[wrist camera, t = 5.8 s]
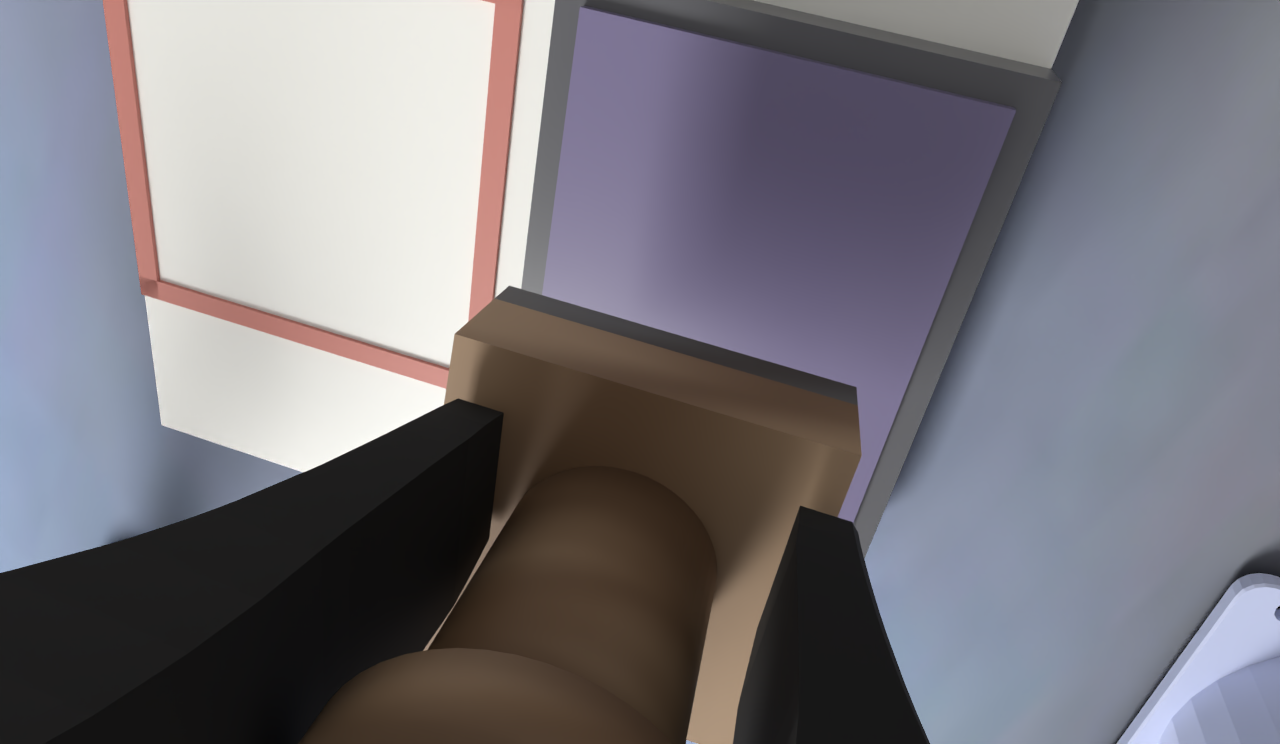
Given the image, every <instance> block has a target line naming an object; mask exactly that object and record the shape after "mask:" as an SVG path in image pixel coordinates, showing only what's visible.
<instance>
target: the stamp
mask: <svg viewBox="0 0 1280 744" xmlns="http://www.w3.org/2000/svg"><path fill="white" fill-rule="evenodd" d="M458 398H459V399H462V400H465V401H468V402H471V403H475V404H478V405H481V406H484V407H487V408H491V409H494V410H497V411H500V412H503V413H504V416H503V425H502V433H501V442H500V451H499V459H498V468H497V476H496V485H495V494H494V502H493V511H492V519H491V528H490V537H489V540H488V542H487V544H486V546H485V548H484V550H483V552H482V554H481V556H480V558H479V560H478V562H477V564H476V566H475V567H474V569H473V571H472V573H471V575H470V577H469V579H468V581H467V583H466V584H465V586H464V588H463V590H462V592H461V594H460V595H459V597H458V599H457V601H456V603H455V605H454V606H453V608H452V609H451V611H450V612H449V614H448V615H447V617H446V618H445V620H444V621H443V623H442V624H441V625H440V627H439V628H438V630H437V631H436V633H435V634H434V635H433V637H432V638H431V640H430V641H429V643H428V644H427V646H426V647H425V648H424V650H423V651H420V652H414V653H409V654H404V655H401V656H398V657H395V658H392V659H389V660H386V661H383V662H380V663H378V664H376V665H374V666H372V667H370V668H368V669H367V670H365V671H363V672H361V673H359V674H358V675H357V676H355V677H354V678H353V679H351V680H350V681H348V682H347V683H346V684H344V685H343V686H342V687H341V688H340V689H339V690H338V691H337V693H336V694H335V695H334V696H333V697H332V698H331V699H330V700H329V701H328V703H327V704H326V706H325V707H324V708H323V710H322V711H321V713H320V714H319V715H318V717H317V718H316V720H315V721H314V722H313V724H312V725H311V727H310V728H309V729H308V731H307V732H306V734H305V735H304V736H303V738H302V739H301V740H300V742H299V743H298V744H686V740H689V741H692V742H695V743H698V744H733V739H734V731H735V724H736V717H737V709H738V704H739V700H740V696H741V692H742V688H743V683H744V679H745V675H746V671H747V667H748V663H749V659H750V655H751V651H752V647H753V643H754V639H755V635H756V631H757V627H758V624H759V622H760V619H761V616H762V613H763V610H764V607H765V604H766V602H767V599H768V596H769V593H770V590H771V587H772V584H773V581H774V579H775V576H776V573H777V570H778V567H779V564H780V561H781V559H782V556H783V553H784V550H785V547H786V544H787V541H788V539H789V536H790V533H791V530H792V527H793V524H794V521H795V519H796V516H797V513H798V510H799V507H800V506H803V507H806V508H810V509H813V510H816V511H819V512H822V513H825V514H829V515H832V516H835V517H838V515H839V512H840V510H841V507H842V505H843V502H844V500H845V497H846V495H847V492H848V490H849V487H850V484H851V482H852V479H853V477H854V474H855V472H856V469H857V467H858V464H859V462H860V459H861V456H862V452H861V439H860V426H859V413H858V400H857V387H854V386H851V385H848V384H844V383H841V382H837V381H834V380H830V379H827V378H824V377H820V376H817V375H813V374H810V373H807V372H803V371H800V370H796V369H793V368H789V367H786V366H783V365H779V364H776V363H772V362H769V361H766V360H762V359H759V358H755V357H752V356H748V355H745V354H742V353H738V352H735V351H731V350H728V349H724V348H721V347H718V346H714V345H711V344H707V343H704V342H701V341H697V340H694V339H690V338H687V337H683V336H680V335H677V334H673V333H670V332H666V331H663V330H660V329H656V328H653V327H649V326H646V325H642V324H639V323H636V322H632V321H629V320H625V319H622V318H619V317H615V316H612V315H608V314H605V313H601V312H598V311H595V310H591V309H588V308H584V307H581V306H578V305H574V304H571V303H567V302H564V301H560V300H557V299H554V298H550V297H547V296H543V295H540V294H537V293H533V292H530V291H526V290H523V289H519V288H516V287H513V286H508V287H507V288H506V289H505V290H504V291H503V292H501V293H500V294H499V295H498V296H497V297H496V298H495V299H493V300H492V301H491V302H490V303H489V304H488V305H487V306H486V307H484V308H483V309H482V310H481V311H480V312H479V313H478V314H477V315H475V316H474V317H473V318H472V319H471V320H470V321H469V322H467V323H466V324H465V325H464V326H463V327H462V328H461V329H460V330H458V331H457V332H456V333H455V334H454V341H453V348H452V354H451V361H450V367H449V374H448V380H447V387H446V394H445V400H444V405H445V404H447V403H449V402H451V401H453V400H456V399H458Z"/></svg>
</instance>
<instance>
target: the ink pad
mask: <svg viewBox="0 0 1280 744" xmlns="http://www.w3.org/2000/svg"><path fill="white" fill-rule="evenodd" d="M1061 84H1062V82H1061V80H1060V79H1059V78H1058V77H1057V75H1056V74H1055V73H1054V72H1053V70H1052V69H1049V68H1045V67H1041V66H1036V65H1032V64H1028V63H1023V62H1019V61H1015V60H1010V59H1006V58H1002V57H997V56H993V55H988V54H984V53H980V52H975V51H971V50H967V49H962V48H958V47H954V46H949V45H945V44H941V43H936V42H932V41H927V40H923V39H919V38H914V37H910V36H906V35H901V34H897V33H893V32H888V31H884V30H880V29H875V28H871V27H867V26H862V25H858V24H853V23H849V22H845V21H840V20H836V19H832V18H827V17H823V16H819V15H814V14H810V13H806V12H801V11H797V10H792V9H788V8H784V7H779V6H775V5H771V4H766V3H762V2H758V1H753V0H555V6H554V14H553V23H552V31H551V40H550V48H549V57H548V65H547V74H546V82H545V91H544V99H543V108H542V116H541V125H540V133H539V142H538V150H537V159H536V167H535V176H534V184H533V193H532V201H531V210H530V218H529V227H528V235H527V244H526V252H525V261H524V269H523V278H522V286H521V289H523V290H526V291H530V292H533V293H537V294H540V295H543V296H547V297H550V298H554V299H557V300H560V301H564V302H567V303H571V304H574V305H578V306H581V307H584V308H588V309H591V310H595V311H598V312H601V313H605V314H608V315H612V316H615V317H619V318H622V319H625V320H629V321H632V322H636V323H639V324H642V325H646V326H649V327H653V328H656V329H660V330H663V331H666V332H670V333H673V334H677V335H680V336H683V337H687V338H690V339H694V340H697V341H701V342H704V343H707V344H711V345H714V346H718V347H721V348H724V349H728V350H731V351H735V352H738V353H742V354H745V355H748V356H752V357H755V358H759V359H762V360H766V361H769V362H772V363H776V364H779V365H783V366H786V367H789V368H793V369H796V370H800V371H803V372H807V373H810V374H813V375H817V376H820V377H824V378H827V379H830V380H834V381H837V382H841V383H844V384H848V385H851V386H854V387H857V400H858V413H859V426H860V439H861V452H862V456H861V459H860V462H859V464H858V467H857V469H856V472H855V474H854V477H853V479H852V482H851V484H850V487H849V490H848V492H847V495H846V497H845V500H844V502H843V505H842V507H841V510H840V512H839V515H838V518H841V519H845V520H848V521H851V522H853V524H854V526H855V528H856V530H857V531H858V534H859V539H860V544H861V548H862V552H863V557H864V558H865V555H866V553H867V551H868V548H869V546H870V543H871V541H872V539H873V536H874V534H875V531H876V529H877V527H878V524H879V522H880V519H881V517H882V515H883V512H884V510H885V507H886V505H887V503H888V500H889V498H890V495H891V493H892V491H893V488H894V486H895V483H896V481H897V478H898V476H899V474H900V471H901V469H902V466H903V464H904V462H905V459H906V457H907V454H908V452H909V450H910V447H911V445H912V442H913V440H914V438H915V435H916V433H917V430H918V428H919V426H920V423H921V421H922V418H923V416H924V413H925V411H926V409H927V406H928V404H929V401H930V399H931V397H932V394H933V392H934V389H935V387H936V385H937V382H938V380H939V377H940V375H941V373H942V370H943V368H944V365H945V363H946V361H947V358H948V356H949V353H950V351H951V349H952V346H953V344H954V341H955V339H956V336H957V334H958V332H959V329H960V327H961V324H962V322H963V320H964V317H965V315H966V312H967V310H968V308H969V305H970V303H971V300H972V298H973V296H974V293H975V291H976V288H977V286H978V284H979V281H980V279H981V276H982V274H983V271H984V269H985V267H986V264H987V262H988V259H989V257H990V255H991V252H992V250H993V247H994V245H995V243H996V240H997V238H998V235H999V233H1000V231H1001V228H1002V226H1003V223H1004V221H1005V219H1006V216H1007V214H1008V211H1009V209H1010V207H1011V204H1012V202H1013V199H1014V197H1015V194H1016V192H1017V190H1018V187H1019V185H1020V182H1021V180H1022V178H1023V175H1024V173H1025V170H1026V168H1027V166H1028V163H1029V161H1030V158H1031V156H1032V154H1033V151H1034V149H1035V146H1036V144H1037V142H1038V139H1039V137H1040V134H1041V132H1042V129H1043V127H1044V125H1045V122H1046V120H1047V117H1048V115H1049V113H1050V110H1051V108H1052V105H1053V103H1054V101H1055V98H1056V96H1057V93H1058V91H1059V89H1060V86H1061Z"/></svg>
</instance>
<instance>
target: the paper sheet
mask: <svg viewBox="0 0 1280 744" xmlns="http://www.w3.org/2000/svg"><path fill="white" fill-rule="evenodd" d="M753 1H758V2H762V3H766V4H771V5H775V6H779V7H784V8H788V9H792V10H797V11H801V12H806V13H810V14H814V15H819V16H823V17H827V18H832V19H836V20H840V21H845V22H849V23H853V24H858V25H862V26H867V27H871V28H875V29H880V30H884V31H888V32H893V33H897V34H901V35H906V36H910V37H914V38H919V39H923V40H927V41H932V42H936V43H941V44H945V45H949V46H954V47H958V48H962V49H967V50H971V51H975V52H980V53H984V54H988V55H993V56H997V57H1002V58H1006V59H1010V60H1015V61H1019V62H1023V63H1028V64H1032V65H1036V66H1041V67H1045V68H1049V69H1051V68H1052V66H1053V63H1054V61H1055V58H1056V56H1057V53H1058V51H1059V49H1060V46H1061V44H1062V41H1063V39H1064V36H1065V34H1066V31H1067V29H1068V26H1069V24H1070V21H1071V19H1072V17H1073V14H1074V12H1075V9H1076V7H1077V4H1078V2H1079V0H753ZM103 6H104V13H105V21H106V29H107V36H108V44H109V51H110V59H111V67H112V74H113V82H114V89H115V97H116V105H117V112H118V120H119V128H120V135H121V143H122V150H123V158H124V166H125V173H126V181H127V188H128V196H129V204H130V211H131V219H132V226H133V234H134V242H135V249H136V257H137V264H138V272H139V280H140V287H141V294H142V295H145V301H146V308H147V316H148V324H149V332H150V339H151V347H152V355H153V362H154V370H155V378H156V386H157V393H158V401H159V409H160V417H161V424H162V425H163V426H166V427H169V428H172V429H175V430H178V431H181V432H184V433H187V434H190V435H193V436H196V437H199V438H202V439H205V440H208V441H211V442H214V443H217V444H220V445H223V446H226V447H229V448H232V449H235V450H238V451H241V452H244V453H247V454H250V455H253V456H256V457H259V458H262V459H265V460H268V461H271V462H274V463H277V464H280V465H283V466H286V467H289V468H292V469H295V470H298V471H301V472H306V471H308V470H310V469H313V468H315V467H317V466H320V465H322V464H324V463H326V462H328V461H330V460H332V459H334V458H336V457H339V456H341V455H343V454H345V453H347V452H349V451H351V450H353V449H355V448H357V447H359V446H362V445H364V444H366V443H368V442H370V441H372V440H374V439H376V438H378V437H380V436H382V435H384V434H386V433H388V432H390V431H392V430H394V429H396V428H398V427H400V426H402V425H404V424H406V423H408V422H410V421H412V420H414V419H416V418H418V417H420V416H422V415H424V414H426V413H428V412H430V411H432V410H434V409H436V408H438V407H440V406H443V405H444V400H445V394H446V387H447V380H448V374H449V367H450V361H451V354H452V348H453V341H454V334H455V333H456V332H457V331H458V330H460V329H461V328H462V327H463V326H464V325H465V324H466V323H467V322H469V321H470V320H471V319H472V318H473V317H474V316H475V315H477V314H478V313H479V312H480V311H481V310H482V309H483V308H484V307H486V306H487V305H488V304H489V303H490V302H491V301H492V300H493V299H495V298H496V297H497V296H498V295H499V294H500V293H501V292H503V291H504V290H505V289H506V288H507V287H508V286H513V287H516V288H519V289H521V286H522V278H523V269H524V261H525V252H526V244H527V235H528V227H529V218H530V210H531V201H532V193H533V184H534V176H535V167H536V159H537V150H538V142H539V133H540V125H541V116H542V108H543V99H544V91H545V82H546V74H547V65H548V57H549V48H550V40H551V31H552V23H553V14H554V6H555V0H103Z"/></svg>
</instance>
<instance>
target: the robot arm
mask: <svg viewBox="0 0 1280 744" xmlns="http://www.w3.org/2000/svg"><path fill="white" fill-rule="evenodd" d="M503 416H504V413H503V412H500V411H497V410H494V409H491V408H487V407H484V406H481V405H478V404H475V403H471V402H468V401H465V400H462V399H459V398H458V399H456V400H453V401H451V402H449V403H447V404H445V405H443V406H440V407H438V408H436V409H434V410H432V411H430V412H428V413H426V414H424V415H422V416H420V417H418V418H416V419H414V420H412V421H410V422H408V423H406V424H404V425H402V426H400V427H398V428H396V429H394V430H392V431H390V432H388V433H386V434H384V435H382V436H380V437H378V438H376V439H374V440H372V441H370V442H368V443H366V444H364V445H362V446H359V447H357V448H355V449H353V450H351V451H349V452H347V453H345V454H343V455H341V456H339V457H336V458H334V459H332V460H330V461H328V462H326V463H324V464H322V465H320V466H317V467H315V468H313V469H310V470H308V471H306V472H303V473H301V474H299V475H296V476H294V477H292V478H289V479H287V480H284V481H282V482H280V483H277V484H275V485H273V486H270V487H268V488H266V489H263V490H261V491H258V492H256V493H254V494H251V495H249V496H247V497H244V498H242V499H240V500H237V501H235V502H232V503H229V504H227V505H224V506H222V507H219V508H216V509H214V510H211V511H208V512H206V513H203V514H200V515H197V516H194V517H192V518H189V519H186V520H183V521H180V522H177V523H174V524H171V525H168V526H165V527H162V528H159V529H156V530H153V531H150V532H147V533H144V534H141V535H138V536H135V537H132V538H128V539H125V540H122V541H118V542H115V543H112V544H108V545H104V546H101V547H97V548H93V549H89V550H86V551H82V552H78V553H75V554H71V555H67V556H63V557H60V558H56V559H52V560H48V561H45V562H41V563H37V564H33V565H30V566H26V567H22V568H19V569H15V570H11V571H7V572H3V573H0V744H298V743H299V742H300V740H301V739H302V738H303V736H304V735H305V734H306V732H307V731H308V729H309V728H310V727H311V725H312V724H313V722H314V721H315V720H316V718H317V717H318V715H319V714H320V713H321V711H322V710H323V708H324V707H325V706H326V704H327V703H328V701H329V700H330V699H331V698H332V697H333V696H334V695H335V694H336V693H337V691H338V690H339V689H340V688H341V687H342V686H343V685H344V684H346V683H347V682H348V681H350V680H351V679H353V678H354V677H355V676H357V675H358V674H359V673H361V672H363V671H365V670H367V669H368V668H370V667H372V666H374V665H376V664H378V663H380V662H383V661H386V660H389V659H392V658H395V657H398V656H401V655H404V654H409V653H414V652H420V651H423V650H424V648H425V647H426V646H427V644H428V643H429V641H430V640H431V638H432V637H433V635H434V634H435V633H436V631H437V630H438V628H439V627H440V625H441V624H442V623H443V621H444V620H445V618H446V617H447V615H448V614H449V612H450V611H451V609H452V608H453V606H454V605H455V603H456V601H457V599H458V597H459V595H460V594H461V592H462V590H463V588H464V586H465V584H466V583H467V581H468V579H469V577H470V575H471V573H472V571H473V569H474V567H475V566H476V564H477V562H478V560H479V558H480V556H481V554H482V552H483V550H484V548H485V546H486V544H487V542H488V540H489V537H490V528H491V519H492V511H493V502H494V494H495V485H496V476H497V468H498V459H499V451H500V442H501V433H502V425H503ZM1279 606H1280V577H1277V576H1274V575H1270V574H1263V573H1256V574H1248V575H1246V576H1243V577H1241V578H1238V579H1237V580H1236V581H1235V582H1234V583H1233V584H1232V585H1231V586H1230V587H1229V589H1228V590H1227V591H1226V593H1225V594H1224V596H1223V597H1222V598H1221V600H1220V601H1219V603H1218V604H1217V605H1216V607H1215V608H1214V609H1213V611H1212V612H1211V614H1210V615H1209V616H1208V618H1207V619H1206V620H1205V622H1204V623H1203V625H1202V626H1201V627H1200V629H1199V630H1198V632H1197V633H1196V634H1195V636H1194V637H1193V638H1192V640H1191V641H1190V643H1189V644H1188V645H1187V647H1186V648H1185V650H1184V651H1183V652H1182V654H1181V655H1180V656H1179V658H1178V659H1177V661H1176V662H1175V663H1174V665H1173V666H1172V668H1171V669H1170V670H1169V672H1168V673H1167V674H1166V676H1165V677H1164V679H1163V680H1162V681H1161V683H1160V684H1159V686H1158V687H1157V688H1156V690H1155V691H1154V692H1153V694H1152V695H1151V697H1150V698H1149V699H1148V701H1147V702H1146V704H1145V705H1144V706H1143V708H1142V709H1141V710H1140V712H1139V713H1138V715H1137V716H1136V717H1135V719H1134V720H1133V722H1132V723H1131V724H1130V726H1129V727H1128V728H1127V730H1126V731H1125V733H1124V734H1123V735H1122V737H1121V738H1120V740H1119V741H1118V742H1117V744H1280V609H1276V608H1278V607H1279ZM733 744H930V743H929V740H928V738H927V736H926V733H925V731H924V729H923V727H922V724H921V722H920V720H919V717H918V715H917V713H916V710H915V708H914V705H913V703H912V700H911V698H910V696H909V693H908V691H907V688H906V686H905V683H904V680H903V678H902V675H901V672H900V669H899V667H898V664H897V661H896V658H895V656H894V653H893V650H892V648H891V645H890V642H889V639H888V637H887V634H886V631H885V628H884V625H883V622H882V619H881V616H880V613H879V609H878V606H877V603H876V600H875V596H874V593H873V590H872V586H871V583H870V579H869V576H868V572H867V568H866V564H865V561H864V557H863V552H862V548H861V544H860V539H859V534H858V531H857V530H856V528H855V526H854V524H853V522H851V521H848V520H845V519H841V518H838V517H835V516H832V515H829V514H825V513H822V512H819V511H816V510H813V509H810V508H806V507H803V506H800V507H799V510H798V513H797V516H796V519H795V521H794V524H793V527H792V530H791V533H790V536H789V539H788V541H787V544H786V547H785V550H784V553H783V556H782V559H781V561H780V564H779V567H778V570H777V573H776V576H775V579H774V581H773V584H772V587H771V590H770V593H769V596H768V599H767V602H766V604H765V607H764V610H763V613H762V616H761V619H760V622H759V624H758V627H757V631H756V635H755V639H754V643H753V647H752V651H751V655H750V659H749V663H748V667H747V671H746V675H745V679H744V683H743V688H742V692H741V696H740V700H739V704H738V709H737V717H736V724H735V731H734V739H733Z"/></svg>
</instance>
